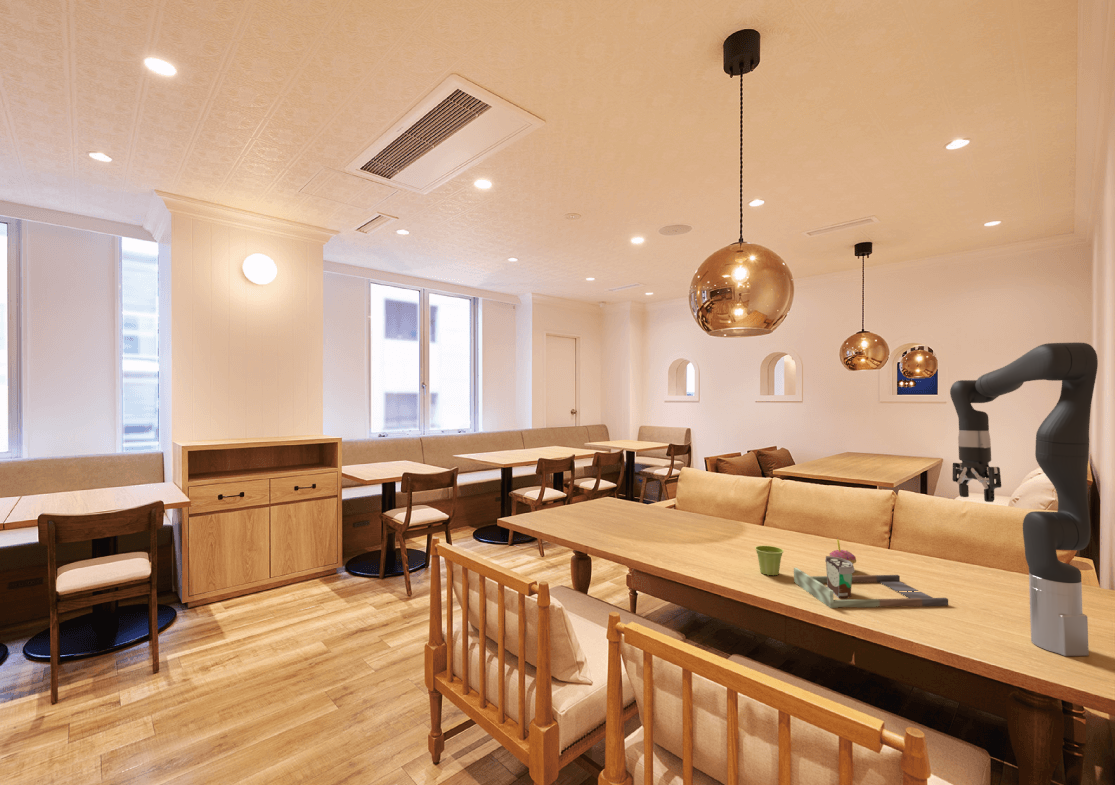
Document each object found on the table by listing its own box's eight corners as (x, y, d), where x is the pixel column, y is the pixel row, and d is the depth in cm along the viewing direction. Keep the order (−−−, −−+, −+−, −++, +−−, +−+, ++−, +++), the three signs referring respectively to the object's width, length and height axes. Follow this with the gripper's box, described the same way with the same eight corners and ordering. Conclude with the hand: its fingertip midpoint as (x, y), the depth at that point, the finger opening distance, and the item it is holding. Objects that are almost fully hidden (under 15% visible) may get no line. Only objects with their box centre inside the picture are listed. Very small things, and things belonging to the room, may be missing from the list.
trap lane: (948, 605, 147) (947, 588, 147) (830, 608, 146) (829, 591, 146) (897, 580, 168) (897, 565, 168) (794, 582, 167) (793, 567, 167)
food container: (862, 601, 151) (861, 568, 151) (840, 600, 152) (840, 567, 152) (845, 586, 163) (845, 556, 163) (825, 585, 164) (825, 555, 164)
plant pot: (757, 567, 183) (757, 544, 183) (785, 571, 178) (785, 547, 178) (753, 575, 175) (752, 550, 175) (782, 579, 170) (781, 554, 170)
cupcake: (842, 575, 174) (841, 541, 174) (823, 567, 182) (823, 534, 183) (862, 572, 176) (861, 539, 176) (842, 565, 184) (842, 533, 185)
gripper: (943, 444, 157) (945, 495, 156) (983, 446, 142) (985, 503, 142) (966, 444, 157) (968, 495, 156) (1008, 447, 143) (1010, 503, 142)
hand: (976, 499), depth 149 cm, fingers open, 8 cm apart
